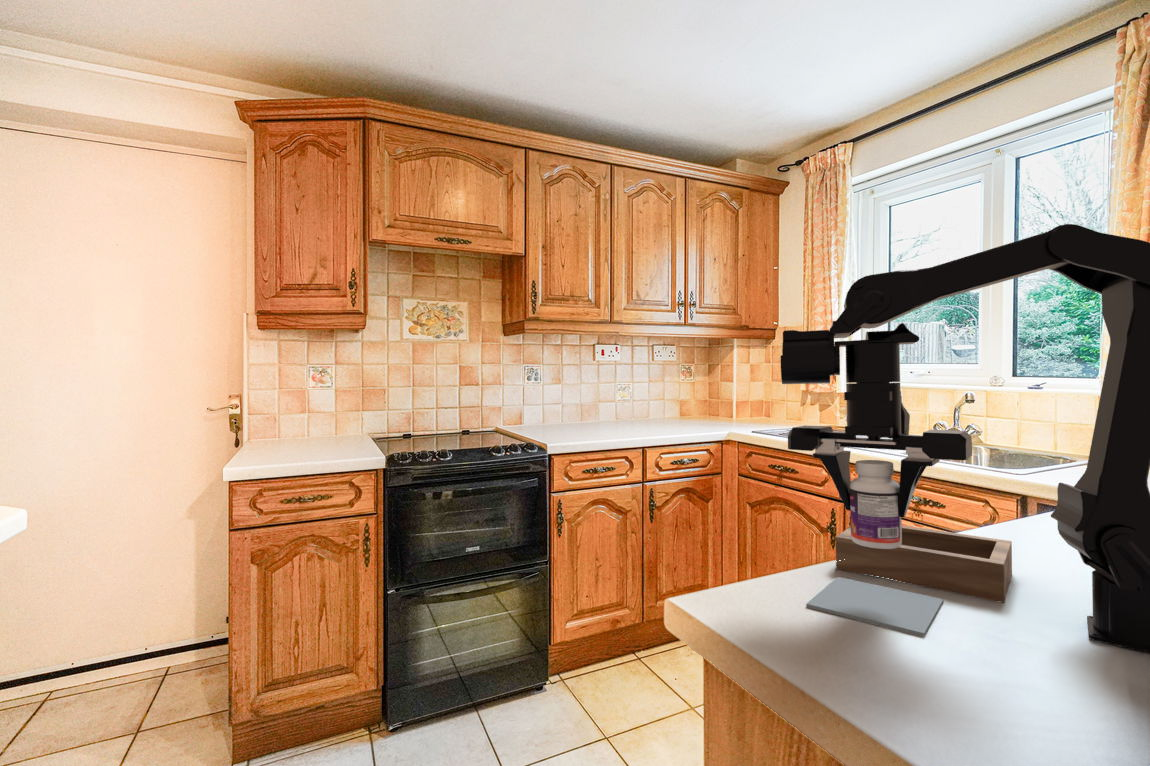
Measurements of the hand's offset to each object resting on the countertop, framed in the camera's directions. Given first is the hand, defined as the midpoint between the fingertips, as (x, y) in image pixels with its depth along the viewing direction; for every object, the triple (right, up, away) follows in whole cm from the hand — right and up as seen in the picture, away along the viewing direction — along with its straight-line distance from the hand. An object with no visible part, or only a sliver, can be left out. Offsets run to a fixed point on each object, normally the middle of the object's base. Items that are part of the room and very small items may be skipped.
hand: (875, 513), depth 66 cm
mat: (0, -11, 0) cm, 11 cm away
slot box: (+13, -11, +11) cm, 20 cm away
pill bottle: (0, -4, 0) cm, 4 cm away
